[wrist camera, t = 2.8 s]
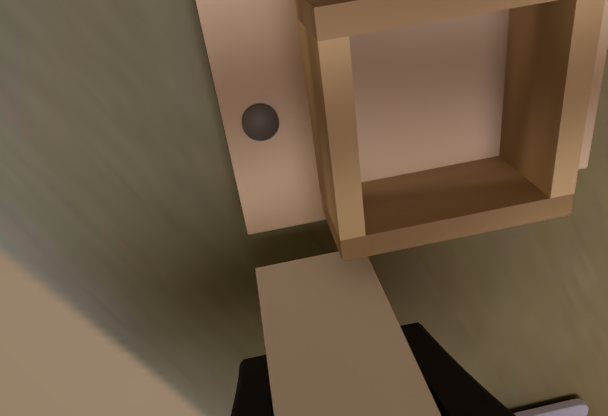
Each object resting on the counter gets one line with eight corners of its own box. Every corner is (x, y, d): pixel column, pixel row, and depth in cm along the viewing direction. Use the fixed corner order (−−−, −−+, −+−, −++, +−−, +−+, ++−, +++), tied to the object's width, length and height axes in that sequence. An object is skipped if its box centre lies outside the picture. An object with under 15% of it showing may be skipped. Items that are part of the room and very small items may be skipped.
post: (370, 326, 16) (495, 648, 9) (272, 347, 15) (323, 693, 9) (363, 246, 14) (507, 559, 7) (255, 268, 14) (299, 611, 7)
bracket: (562, 151, 16) (649, 210, 13) (245, 213, 15) (255, 292, 12) (595, -83, 13) (723, -82, 10) (194, -18, 12) (189, 6, 9)
